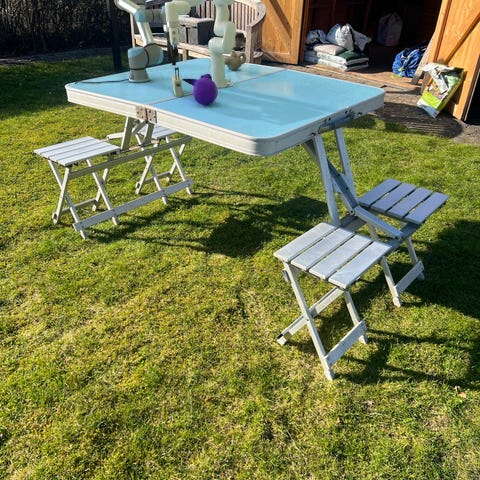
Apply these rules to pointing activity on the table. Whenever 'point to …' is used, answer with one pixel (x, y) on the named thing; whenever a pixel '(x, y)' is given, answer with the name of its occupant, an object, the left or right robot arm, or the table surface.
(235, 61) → the teapot
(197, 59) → the table surface
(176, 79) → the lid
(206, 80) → the toy
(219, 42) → the right robot arm
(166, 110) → the table surface
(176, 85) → the cream suitcase
